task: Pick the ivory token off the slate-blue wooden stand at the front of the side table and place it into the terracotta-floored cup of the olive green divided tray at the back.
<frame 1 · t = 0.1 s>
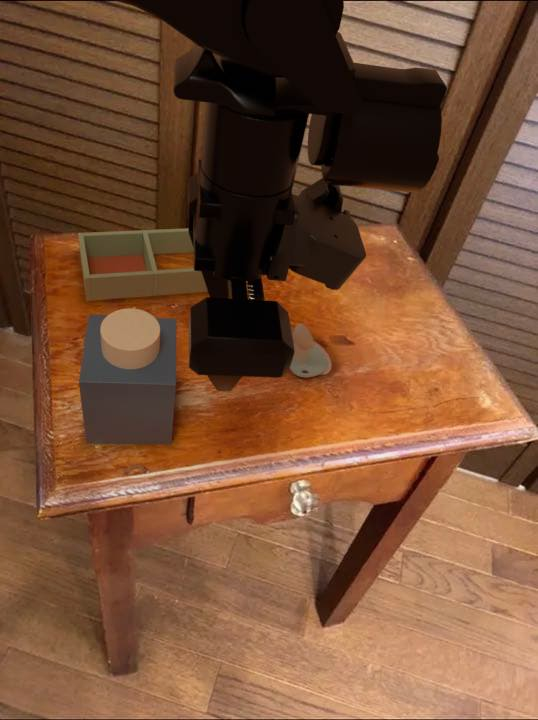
hand: (221, 344, 47), 15 cm above the table, tool pointing down, fingers open, 9 cm apart
olive green divided tray: (149, 277, 73), on the table
stand: (131, 414, 60), on the table
token: (130, 348, 52), point 10 cm above the table, touching stand
pacifier: (302, 362, 68), on the table
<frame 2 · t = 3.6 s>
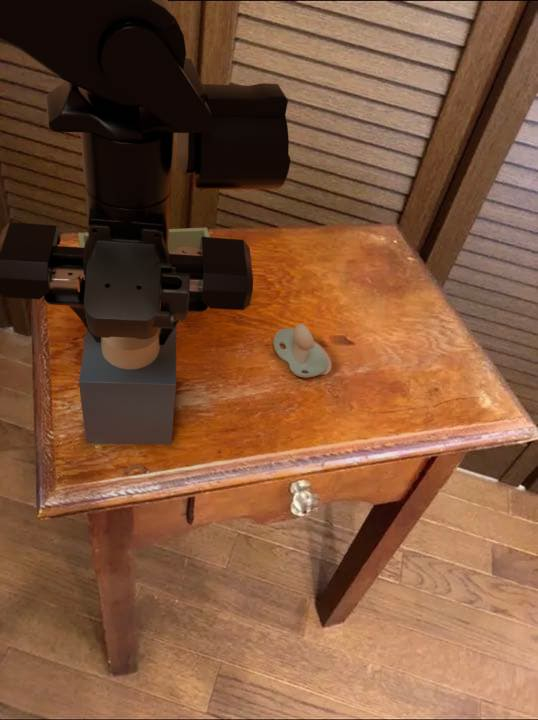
hand: (130, 340, 51), 11 cm above the table, tool pointing down, fingers closed on token, 5 cm apart
token: (130, 348, 52), point 10 cm above the table, touching gripper, stand
everything else where it was.
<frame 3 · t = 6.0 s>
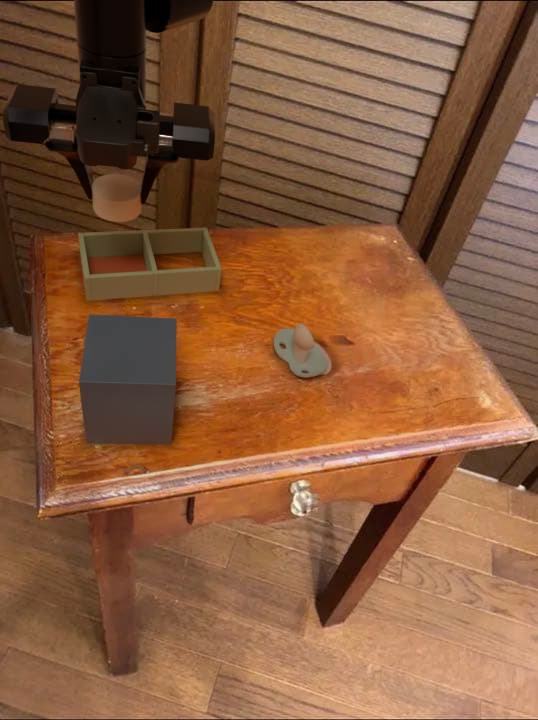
hand: (117, 199, 62), 13 cm above the table, tool pointing down, fingers closed on token, 5 cm apart
token: (117, 207, 62), point 12 cm above the table, touching gripper
everything else where it was.
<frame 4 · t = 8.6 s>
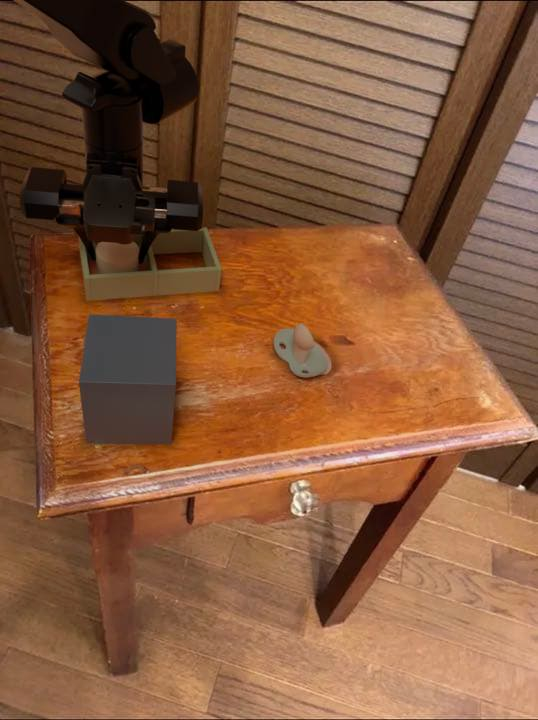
hand: (117, 259, 70), 3 cm above the table, tool pointing down, fingers closed on token, 5 cm apart
token: (118, 266, 71), point 2 cm above the table, touching gripper
everything else where it was.
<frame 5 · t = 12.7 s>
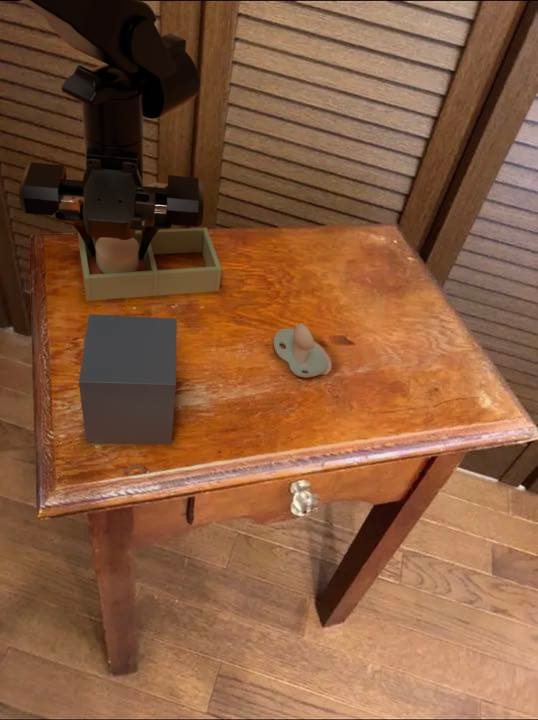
hand: (117, 256, 69), 4 cm above the table, tool pointing down, fingers closed on token, 5 cm apart
token: (118, 262, 70), point 3 cm above the table, touching gripper
everything else where it was.
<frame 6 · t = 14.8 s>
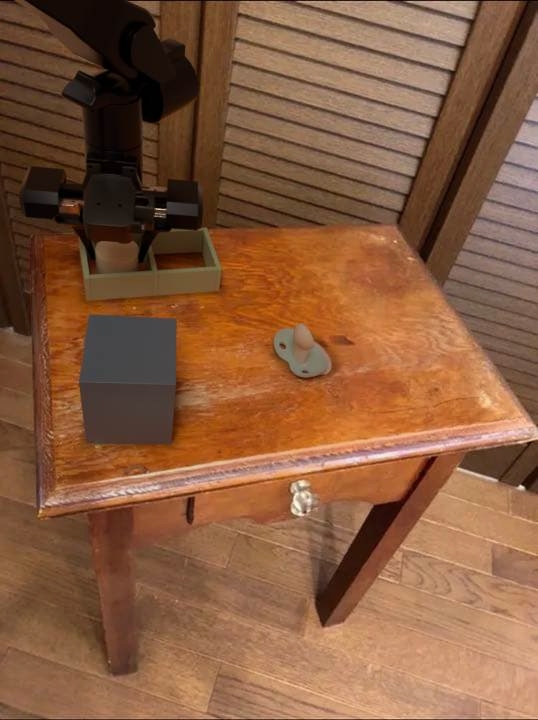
hand: (117, 259, 70), 3 cm above the table, tool pointing down, fingers closed on token, 5 cm apart
token: (117, 265, 71), point 2 cm above the table, touching gripper
everything else where it was.
when the fingers open (4 cm above the table, at t = 16.7 s): token drops 2 cm, resting on olive green divided tray.
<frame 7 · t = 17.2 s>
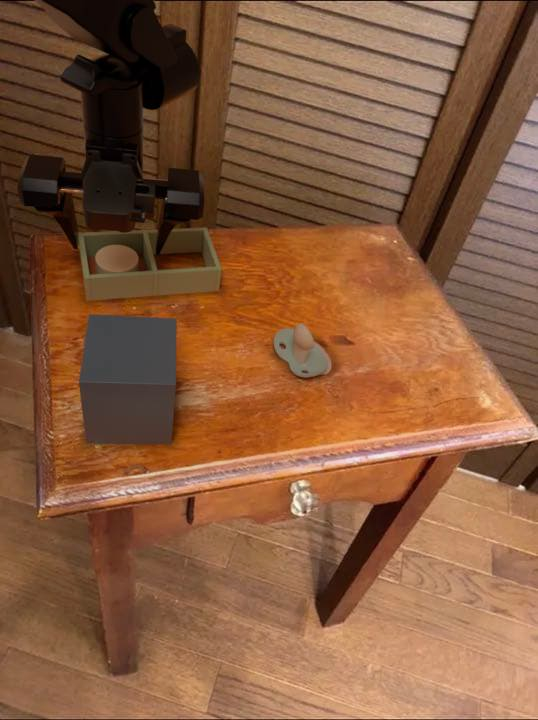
hand: (117, 250, 69), 4 cm above the table, tool pointing down, fingers open, 9 cm apart
token: (117, 273, 72), point 1 cm above the table, touching olive green divided tray
everything else where it was.
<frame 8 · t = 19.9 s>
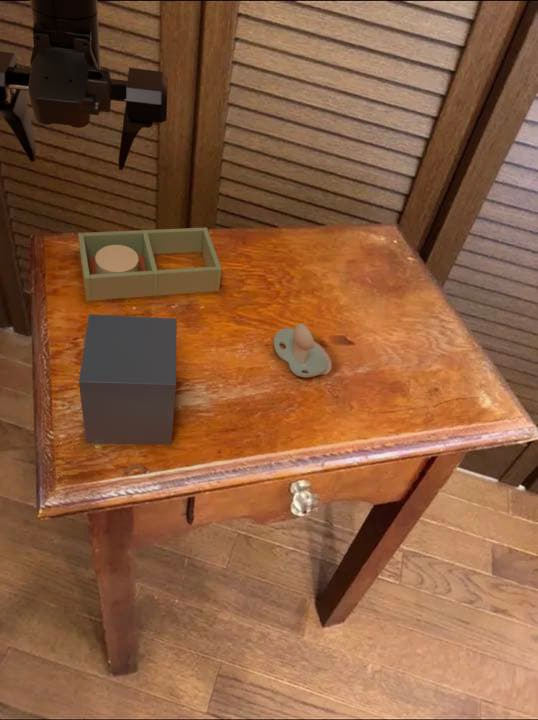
hand: (77, 163, 64), 13 cm above the table, tool pointing down, fingers open, 9 cm apart
nothing on the table moved.
at the end: token 0.1 cm from the target spot in the olive green divided tray, point 0.8 cm above the olive green divided tray's base; the gripper is holding nothing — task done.
